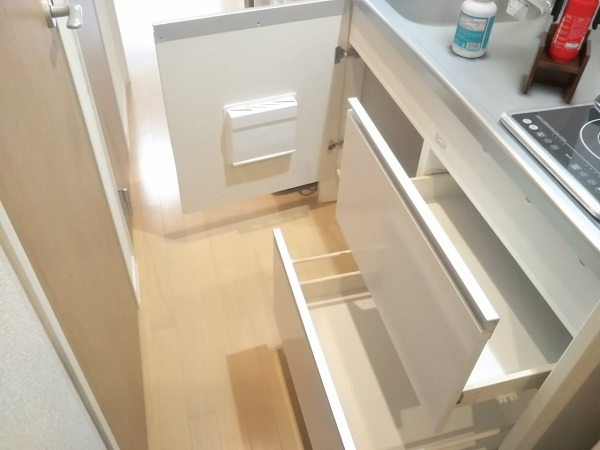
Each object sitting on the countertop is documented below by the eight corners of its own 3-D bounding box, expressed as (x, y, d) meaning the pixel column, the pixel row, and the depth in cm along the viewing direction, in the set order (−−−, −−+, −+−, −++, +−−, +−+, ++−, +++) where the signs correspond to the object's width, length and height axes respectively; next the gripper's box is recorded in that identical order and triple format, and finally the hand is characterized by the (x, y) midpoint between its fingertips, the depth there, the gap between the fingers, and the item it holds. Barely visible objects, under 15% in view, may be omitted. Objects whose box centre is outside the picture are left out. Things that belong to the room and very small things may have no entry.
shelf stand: (571, 86, 108) (595, 30, 100) (569, 104, 103) (595, 45, 95) (526, 77, 111) (547, 21, 102) (522, 93, 105) (544, 35, 97)
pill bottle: (469, 43, 122) (485, -17, 113) (491, 56, 118) (509, -6, 108) (444, 48, 120) (458, -13, 111) (465, 61, 115) (482, -1, 106)
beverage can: (546, 60, 101) (570, -4, 93) (547, 50, 104) (570, -13, 96) (574, 65, 99) (601, 1, 91) (574, 55, 103) (600, -8, 95)
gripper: (674, -83, 85) (623, 25, 98) (563, -97, 90) (528, 8, 102) (678, -73, 80) (624, 40, 92) (561, -89, 85) (524, 21, 97)
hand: (574, 22), depth 97 cm, fingers open, 6 cm apart
